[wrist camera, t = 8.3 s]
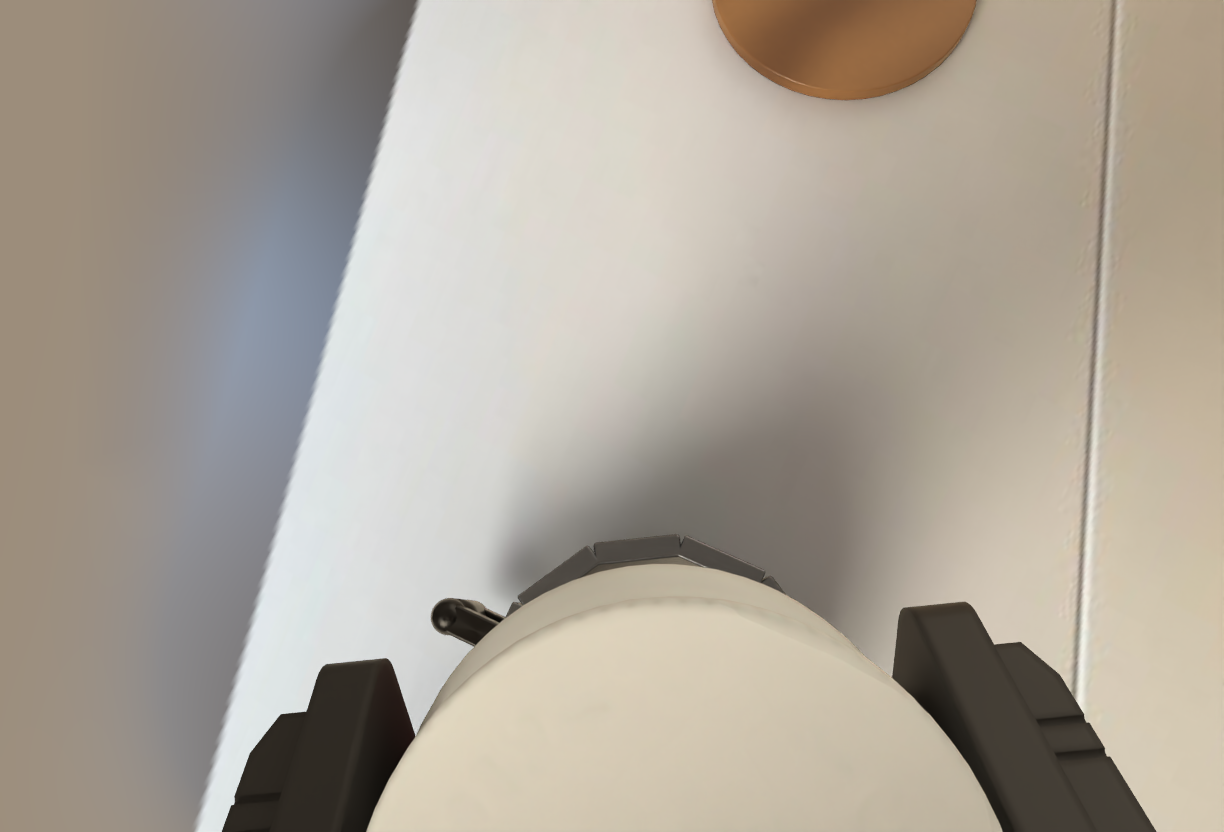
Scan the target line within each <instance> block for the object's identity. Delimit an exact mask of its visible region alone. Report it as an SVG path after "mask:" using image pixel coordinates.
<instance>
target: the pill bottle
mask: <svg viewBox="0 0 1224 832" xmlns="http://www.w3.org/2000/svg"><path fill="white" fill-rule="evenodd" d="M366 832H1003V831H1002V828H1001V826H1000V824H999V821H998V819H997V817H996V815H995V813H994V811H993V809H992V807H991V805H990V803H989V801H988V799H987V797H986V795H985V793H984V791H983V789H982V788H981V786H980V784H979V782H978V781H977V779H976V777H975V775H974V774H973V772H972V770H971V768H970V767H969V765H968V764H967V762H966V761H965V759H964V758H963V757H962V755H961V754H960V752H959V751H958V750H957V748H956V747H955V745H954V744H953V743H952V741H951V740H950V739H949V738H948V736H947V735H946V734H945V732H944V731H943V730H942V729H941V728H940V726H939V725H938V724H937V723H936V722H935V720H934V719H933V718H932V717H931V715H930V714H929V713H927V712H926V711H925V710H924V709H923V708H922V707H921V706H920V704H919V703H918V702H917V701H916V700H915V699H914V698H913V697H912V696H911V695H910V694H909V693H908V692H907V691H906V690H905V689H904V688H902V687H901V686H900V685H899V684H898V683H897V682H896V681H895V680H894V679H893V678H892V677H890V676H889V675H888V674H887V673H885V672H884V671H883V670H882V669H880V668H879V667H878V666H877V665H875V664H874V663H873V662H871V661H870V660H869V659H868V658H866V657H865V656H864V655H863V654H862V653H861V652H860V650H859V649H858V648H857V647H855V646H854V645H853V644H852V643H851V642H850V641H849V640H848V639H847V638H846V637H845V636H844V635H843V634H841V633H840V632H839V631H838V630H837V629H835V628H834V627H833V626H832V625H831V624H829V623H828V622H827V621H825V620H824V619H823V618H821V617H820V616H819V615H817V614H816V613H814V612H813V611H811V610H810V609H808V608H807V607H805V606H804V605H802V604H801V603H799V602H797V601H796V600H794V599H792V598H790V597H788V596H787V595H785V594H783V593H781V592H779V591H777V590H775V589H773V588H771V587H769V586H766V585H764V584H761V583H759V582H756V581H753V580H751V579H748V578H746V577H742V576H739V575H735V574H731V573H728V572H724V571H721V570H717V569H710V568H703V567H697V566H689V565H678V564H648V565H636V566H627V567H621V568H616V569H611V570H606V571H601V572H597V573H594V574H591V575H588V576H585V577H582V578H579V579H575V580H572V581H570V582H568V583H566V584H563V585H561V586H559V587H557V588H555V589H552V590H550V591H548V592H546V593H544V594H542V595H540V596H539V597H537V598H535V599H533V600H532V601H530V602H528V603H527V604H525V605H523V606H522V607H520V608H519V609H518V610H516V611H515V612H513V613H512V614H511V615H509V616H508V617H507V618H505V619H504V620H503V621H501V622H500V623H499V624H498V625H497V626H496V627H494V628H493V629H492V630H491V631H490V632H489V633H488V634H487V635H486V636H484V637H483V638H482V639H481V640H480V641H479V642H478V643H477V645H476V646H475V647H474V648H473V649H472V650H471V651H470V652H469V653H468V654H467V655H466V656H465V657H464V659H463V660H462V661H461V663H460V664H459V665H458V666H457V668H456V669H455V670H454V671H453V673H452V674H451V675H450V677H449V678H448V680H447V681H446V683H445V684H444V686H443V687H442V689H441V690H440V692H439V694H438V696H437V697H436V699H435V701H434V703H433V705H432V706H431V708H430V710H429V712H428V713H427V715H426V717H425V719H424V721H423V722H422V724H421V726H420V729H419V731H418V733H417V736H416V737H415V738H414V740H413V741H412V742H411V744H410V745H409V747H408V748H407V750H406V752H405V753H404V755H403V757H402V758H401V760H400V762H399V763H398V765H397V767H396V768H395V770H394V772H393V773H392V775H391V777H390V778H389V780H388V782H387V784H386V786H385V789H384V791H383V793H382V795H381V797H380V799H379V801H378V803H377V805H376V807H375V809H374V812H373V815H372V817H371V820H370V823H369V826H368V828H367V831H366Z"/></svg>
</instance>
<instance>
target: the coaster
mask: <svg viewBox="0 0 1224 832" xmlns="http://www.w3.org/2000/svg"><path fill="white" fill-rule="evenodd" d="M976 1H977V0H712V2H713V7H714V11H715V15H716V17H717V20H718V22H719V25H720V27H721V29H722V31H723V33H724V34H725V36H726V38H727V40H728V41H729V43H730V44H731V45H732V47H733V48H734V49H735V51H736V52H737V53H738V54H739V55H740V56H741V57H742V58H743V59H744V60H745V61H746V62H747V63H748V64H749V65H750V66H751V67H752V68H754V69H755V70H756V71H758V72H759V73H760V74H762V75H763V76H765V77H766V78H768V79H770V80H771V81H773V82H775V83H777V84H779V85H781V86H783V87H786V88H788V89H790V90H792V91H796V92H799V93H802V94H805V95H809V96H814V97H819V98H825V99H837V100H854V99H866V98H871V97H877V96H882V95H885V94H888V93H892V92H895V91H898V90H900V89H902V88H905V87H907V86H909V85H911V84H913V83H915V82H917V81H918V80H920V79H922V78H923V77H925V76H927V75H928V74H929V73H930V72H932V71H933V70H934V69H936V68H937V67H938V66H939V65H940V64H941V63H942V62H943V61H944V60H945V59H946V58H947V57H948V56H949V55H950V54H951V53H952V51H953V50H954V48H955V47H956V46H957V44H958V43H959V41H960V40H961V38H962V36H963V34H964V32H965V30H966V28H967V26H968V24H969V22H970V20H971V18H972V15H973V12H974V9H975V6H976Z"/></svg>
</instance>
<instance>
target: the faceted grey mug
mask: <svg viewBox="0 0 1224 832" xmlns="http://www.w3.org/2000/svg"><path fill="white" fill-rule="evenodd" d="M648 564H678V565H689V566H697V567H703V568H710V569H717V570H721V571H724V572H728V573H731V574H735V575H739V576H742V577H746V578H748V579H751V580H753V581H756V582H759V583H761V584H764V585H766V586H769V587H771V588H773V589H775V590H777V591H779V592H781V593H783V594H785V593H784V591H783V590H782V589H781V587H780V586H779V585H778V584H777V582H776V581H775V580H774V578H773V577H772V576H768V577H765V578H763V577H764V574H765V570H763V569H761V568H759V567H757V566H754V565H752V564H750V563H748V562H745V561H743V560H741V559H739V558H736V557H734V556H732V555H730V554H727V553H725V552H723V551H721V550H718V549H716V548H714V547H712V546H709V545H707V544H705V543H703V542H700V541H698V540H696V539H694V538H691V537H689V536H685V537H684V539H683V541H682V544H680V536H679V535H677V534H674V535H664V536H655V537H645V538H636V539H626V540H616V541H607V542H597V543H595V544H594V552H593V551H592V550H591V548H590V547H589V546H586V547H584V548H583V549H582V550H580V551H579V552H577V553H576V554H575V555H573V556H572V557H571V558H569V559H568V560H566V561H565V562H564V563H562V564H561V565H560V566H558V567H557V568H555V569H554V570H553V571H551V572H550V573H549V574H547V575H546V576H544V577H543V578H542V579H540V580H539V581H538V582H536V583H535V584H533V585H532V586H531V587H529V588H528V589H526V590H525V591H524V592H522V593H521V594H520V595H518V599H519V600H520V602H521V603H518V602H513V603H512V604H511V607H510V609H509V611H508V613H507V615H506V617H504V616H502V615H500V614H497V613H495V612H493V611H491V610H489V609H487V608H485V606H484V605H483V604H482V603H480V602H478V601H472V600H463V599H454V598H447V599H443V600H441V601H439V602H438V603H437V604H436V605H435V606H434V608H433V610H432V613H431V622H432V625H433V627H434V628H435V629H436V630H437V631H438V632H439V633H441V634H444V635H451V636H453V637H455V638H457V639H459V640H462V641H464V642H466V643H468V644H470V645H472V646H474V647H475V646H476V645H477V643H478V642H479V641H480V640H481V639H482V638H483V637H484V636H486V635H487V634H488V633H489V632H490V631H491V630H492V629H493V628H494V627H496V626H497V625H498V624H499V623H500V622H501V621H503V620H504V619H505V618H507V617H508V616H509V615H511V614H512V613H513V612H515V611H516V610H518V609H519V608H520V607H522V606H523V605H525V604H527V603H528V602H530V601H532V600H533V599H535V598H537V597H539V596H540V595H542V594H544V593H546V592H548V591H550V590H552V589H555V588H557V587H559V586H561V585H563V584H566V583H568V582H570V581H572V580H575V579H579V578H582V577H585V576H588V575H591V574H594V573H597V572H601V571H606V570H611V569H616V568H621V567H627V566H636V565H648ZM785 595H786V594H785Z"/></svg>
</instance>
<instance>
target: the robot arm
mask: <svg viewBox="0 0 1224 832" xmlns="http://www.w3.org/2000/svg"><path fill="white" fill-rule="evenodd" d="M892 678H893V679H894V680H895V681H896V682H897V683H898V684H899V685H900V686H901V687H902V688H904V689H905V690H906V691H907V692H908V693H909V694H910V695H911V696H912V697H913V698H914V699H915V700H916V701H917V702H918V703H919V704H920V706H921V707H922V708H923V709H924V710H925V711H926V712H927V713H929V714H930V715H931V717H932V718H933V719H934V720H935V722H936V723H937V724H938V725H939V726H940V728H941V729H942V730H943V731H944V732H945V734H946V735H947V736H948V738H949V739H950V740H951V741H952V743H953V744H954V745H955V747H956V748H957V750H958V751H959V752H960V754H961V755H962V757H963V758H964V759H965V761H966V762H967V764H968V765H969V767H970V768H971V770H972V772H973V774H974V775H975V777H976V779H977V781H978V782H979V784H980V786H981V788H982V789H983V791H984V793H985V795H986V797H987V799H988V801H989V803H990V805H991V807H992V809H993V811H994V813H995V815H996V817H997V819H998V821H999V824H1000V826H1001V828H1002V831H1003V832H1156V830H1155V829H1154V827H1153V825H1152V824H1151V822H1150V820H1149V819H1148V817H1147V816H1146V814H1145V812H1144V811H1143V809H1142V807H1141V806H1140V804H1139V803H1138V801H1137V799H1136V798H1135V796H1134V795H1133V793H1132V791H1131V790H1130V788H1129V786H1128V785H1127V783H1126V782H1125V780H1124V778H1123V777H1122V775H1121V773H1120V772H1119V770H1118V769H1117V767H1116V765H1115V764H1114V762H1113V760H1112V759H1111V757H1107V756H1106V754H1105V748H1104V746H1103V744H1102V743H1101V741H1100V739H1099V738H1098V736H1097V735H1096V733H1095V731H1094V730H1093V728H1092V726H1091V725H1090V723H1086V721H1085V719H1084V713H1083V712H1082V710H1081V709H1080V707H1079V705H1078V704H1077V702H1076V700H1075V699H1074V697H1073V696H1072V694H1071V692H1070V691H1069V689H1068V688H1067V686H1066V684H1065V683H1064V681H1063V679H1062V678H1061V676H1060V675H1059V674H1058V673H1057V672H1056V671H1055V670H1053V669H1052V668H1051V667H1050V666H1049V665H1047V664H1046V663H1045V662H1044V661H1043V660H1041V659H1040V658H1039V657H1038V656H1037V655H1036V654H1034V653H1033V652H1032V651H1031V650H1030V649H1028V648H1027V647H1026V646H1025V645H1024V644H1022V643H1021V642H1016V643H1006V644H996V645H994V644H993V642H992V640H991V638H990V636H989V635H988V633H987V631H986V629H985V627H984V626H983V624H982V622H981V620H980V618H979V617H978V615H977V613H976V612H975V610H974V609H973V607H972V606H971V605H970V604H968V603H967V602H957V603H947V604H937V605H927V606H917V607H907V608H903V609H902V610H901V612H900V615H899V620H898V629H897V639H896V648H895V657H894V667H893V676H892ZM414 738H415V733H414V730H413V727H412V724H411V721H410V718H409V715H408V712H407V709H406V706H405V702H404V699H403V696H402V693H401V690H400V687H399V684H398V681H397V678H396V675H395V671H394V669H393V666H392V664H391V662H390V661H389V660H388V659H387V658H384V659H374V660H364V661H355V662H345V663H335V664H326V665H325V666H323V667H322V669H321V670H320V672H319V674H318V677H317V680H316V683H315V686H314V690H313V693H312V696H311V699H310V702H309V706H308V709H307V712H299V713H289V714H281V715H280V716H279V717H278V718H277V720H276V721H275V722H274V724H273V725H272V726H271V727H270V729H269V730H268V731H267V732H266V734H265V735H264V736H263V737H262V739H261V740H260V741H259V743H258V744H257V745H256V746H255V748H254V749H253V750H252V751H251V753H250V755H249V758H248V760H247V763H246V766H245V769H244V771H243V774H242V777H241V780H240V783H239V785H238V788H237V791H236V794H235V796H234V797H235V804H234V805H231V808H230V810H229V813H228V816H227V819H226V821H225V824H224V827H223V830H222V832H366V831H367V828H368V826H369V823H370V820H371V817H372V815H373V812H374V809H375V807H376V805H377V803H378V801H379V799H380V797H381V795H382V793H383V791H384V789H385V786H386V784H387V782H388V780H389V778H390V777H391V775H392V773H393V772H394V770H395V768H396V767H397V765H398V763H399V762H400V760H401V758H402V757H403V755H404V753H405V752H406V750H407V748H408V747H409V745H410V744H411V742H412V741H413V740H414Z"/></svg>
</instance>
